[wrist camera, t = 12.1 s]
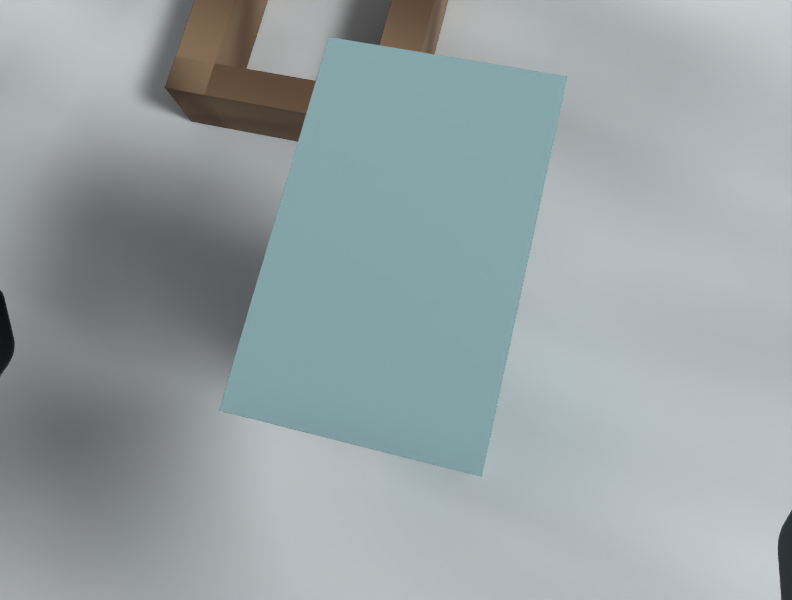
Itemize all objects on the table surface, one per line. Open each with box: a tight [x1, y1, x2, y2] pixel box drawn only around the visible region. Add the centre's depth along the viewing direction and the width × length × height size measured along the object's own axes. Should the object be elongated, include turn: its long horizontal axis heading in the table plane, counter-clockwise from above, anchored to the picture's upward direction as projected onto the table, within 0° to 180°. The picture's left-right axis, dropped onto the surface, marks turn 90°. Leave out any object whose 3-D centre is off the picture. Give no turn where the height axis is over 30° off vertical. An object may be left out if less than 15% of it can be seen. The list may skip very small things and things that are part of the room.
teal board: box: [219, 37, 567, 477], centre depth 13 cm, size 4×2×13 cm, turn 166°
